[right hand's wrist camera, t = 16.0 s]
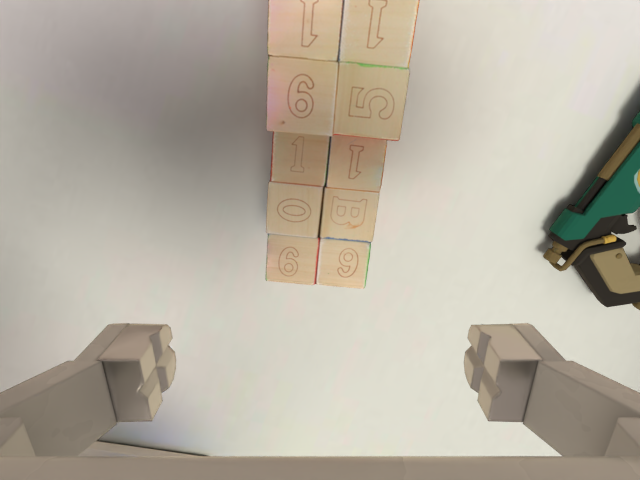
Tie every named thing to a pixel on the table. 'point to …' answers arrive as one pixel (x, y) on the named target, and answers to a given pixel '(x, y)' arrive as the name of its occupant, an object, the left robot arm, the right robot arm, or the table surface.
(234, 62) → the table surface
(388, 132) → the stack of blocks
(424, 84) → the table surface
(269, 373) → the table surface
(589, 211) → the spray gun
